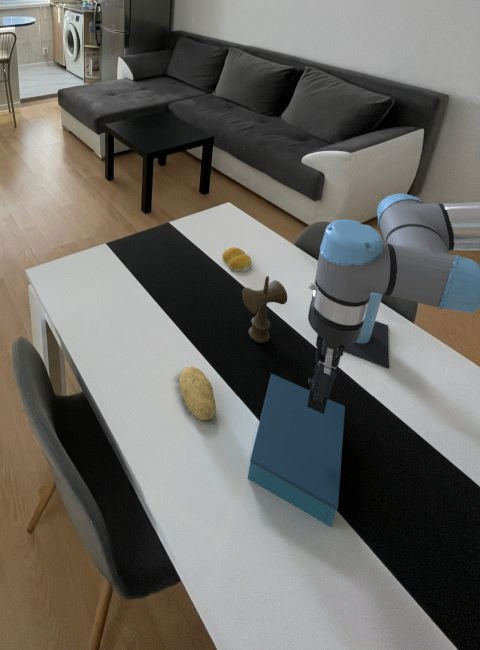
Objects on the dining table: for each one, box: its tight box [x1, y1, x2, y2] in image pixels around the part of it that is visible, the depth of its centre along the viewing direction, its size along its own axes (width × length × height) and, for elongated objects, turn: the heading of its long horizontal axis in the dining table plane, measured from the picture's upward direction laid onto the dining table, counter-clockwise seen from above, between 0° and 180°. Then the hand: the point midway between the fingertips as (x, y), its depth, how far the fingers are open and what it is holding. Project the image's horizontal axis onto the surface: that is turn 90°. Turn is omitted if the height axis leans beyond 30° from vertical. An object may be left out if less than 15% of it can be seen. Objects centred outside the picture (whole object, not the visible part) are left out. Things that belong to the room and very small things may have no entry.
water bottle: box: [356, 292, 384, 344], centre depth 106 cm, size 6×6×20 cm
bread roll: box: [221, 247, 253, 272], centre depth 136 cm, size 8×9×4 cm
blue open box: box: [247, 461, 337, 528], centre depth 83 cm, size 19×14×8 cm
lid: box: [249, 373, 346, 511], centre depth 81 cm, size 20×14×1 cm
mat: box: [343, 320, 390, 370], centre depth 110 cm, size 14×14×1 cm
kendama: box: [241, 275, 288, 344], centre depth 107 cm, size 6×10×20 cm, turn 106°
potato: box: [179, 365, 217, 421], centre depth 95 cm, size 7×11×6 cm, turn 7°
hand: (315, 406), depth 78 cm, fingers closed
